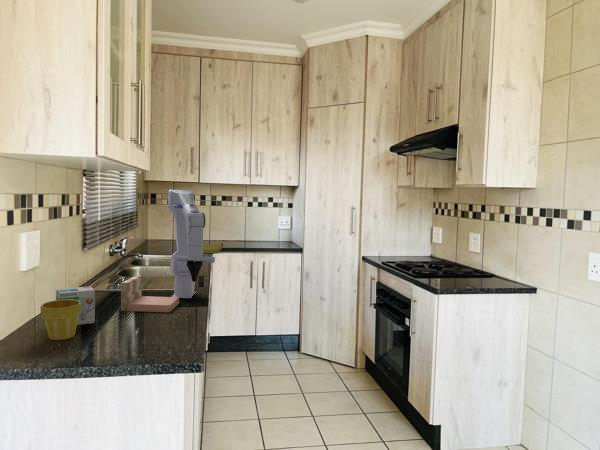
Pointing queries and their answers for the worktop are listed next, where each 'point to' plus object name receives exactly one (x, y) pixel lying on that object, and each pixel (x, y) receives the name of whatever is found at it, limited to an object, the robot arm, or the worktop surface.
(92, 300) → the light bulb box
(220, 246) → the banana
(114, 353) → the worktop surface
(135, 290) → the bookend
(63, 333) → the plant pot
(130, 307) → the book
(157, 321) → the worktop surface
